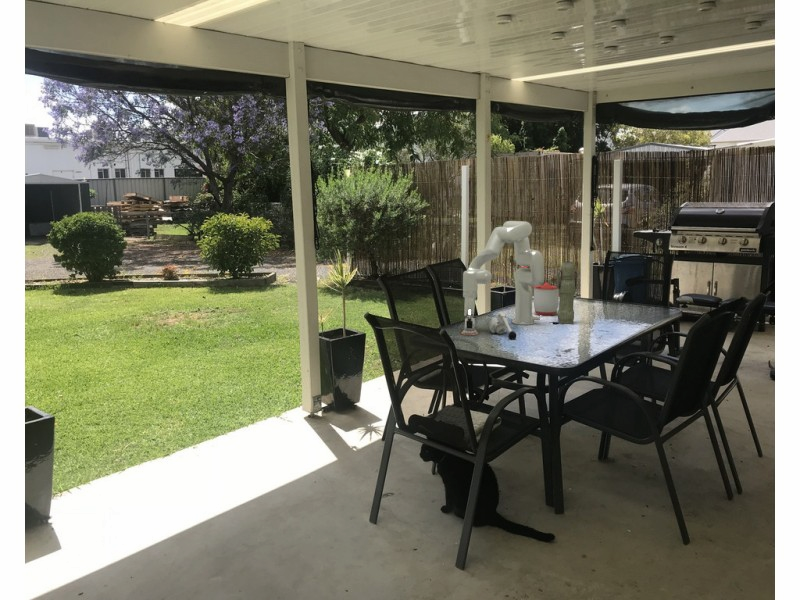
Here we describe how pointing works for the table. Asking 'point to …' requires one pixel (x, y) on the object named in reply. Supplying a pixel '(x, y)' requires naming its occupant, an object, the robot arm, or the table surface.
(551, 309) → the citrus juicer
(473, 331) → the pipe coupling
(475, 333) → the gasket pad
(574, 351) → the table surface
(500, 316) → the mechanical valve
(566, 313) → the stone statue
